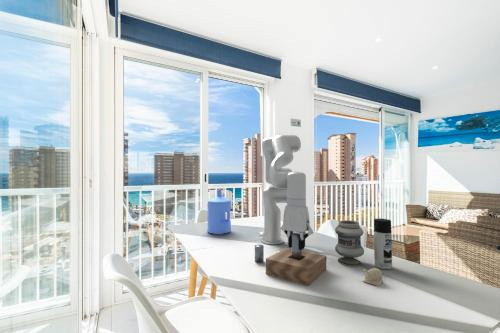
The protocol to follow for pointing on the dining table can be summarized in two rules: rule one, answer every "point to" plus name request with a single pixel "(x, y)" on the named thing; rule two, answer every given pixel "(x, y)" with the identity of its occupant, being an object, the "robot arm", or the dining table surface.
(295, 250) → the tall pin
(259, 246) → the short pin
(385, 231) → the spray can
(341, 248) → the apothecary jar
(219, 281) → the dining table surface
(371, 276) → the decorative ornament
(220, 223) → the water jug
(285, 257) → the hole block
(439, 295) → the dining table surface
